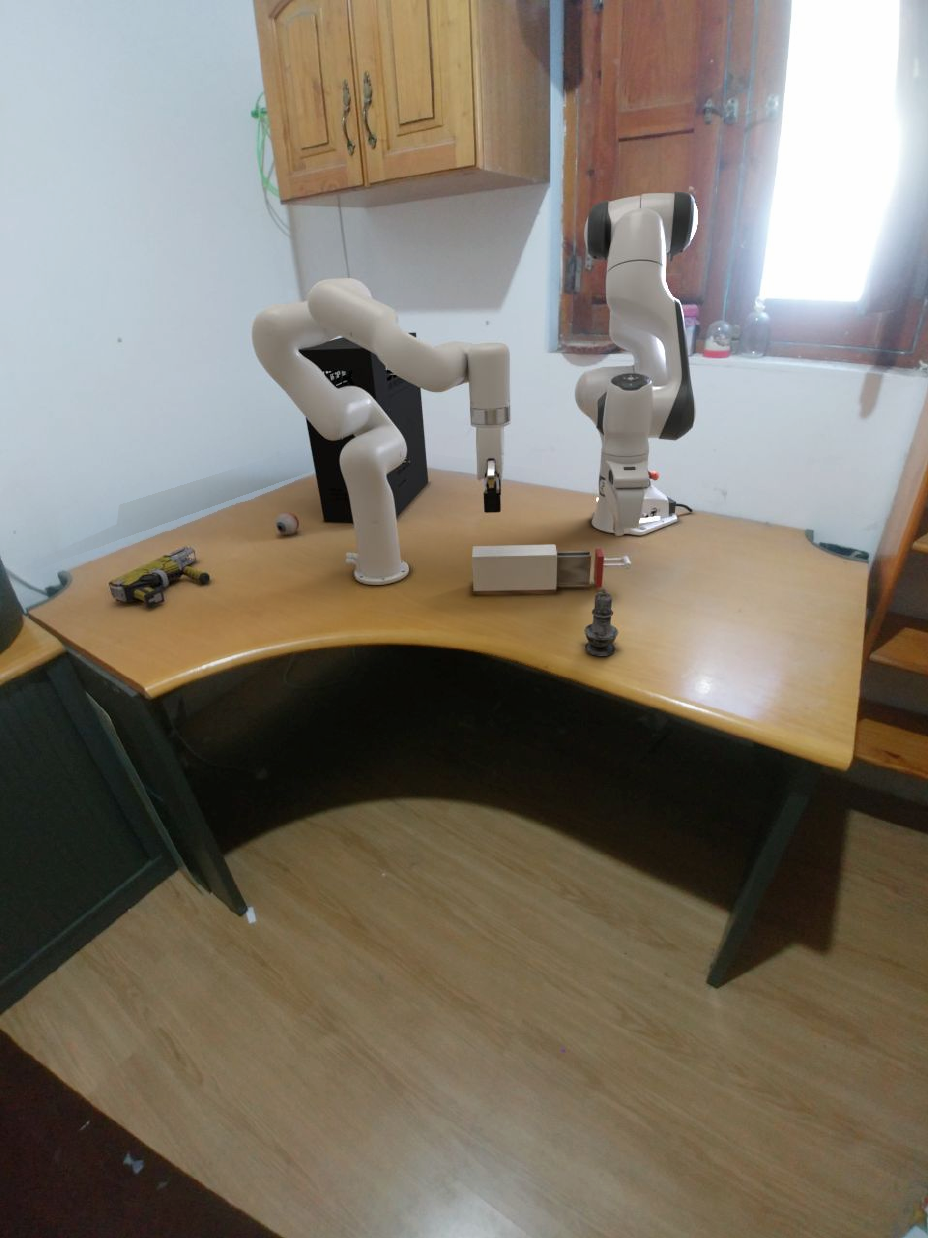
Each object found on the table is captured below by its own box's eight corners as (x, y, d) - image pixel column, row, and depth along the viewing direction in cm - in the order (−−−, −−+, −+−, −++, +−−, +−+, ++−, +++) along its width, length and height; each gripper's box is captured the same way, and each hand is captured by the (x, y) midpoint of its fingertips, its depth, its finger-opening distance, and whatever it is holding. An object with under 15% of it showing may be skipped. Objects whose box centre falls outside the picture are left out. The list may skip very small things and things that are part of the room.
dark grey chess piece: (616, 658, 105) (622, 597, 99) (582, 655, 106) (586, 595, 100) (616, 640, 110) (621, 581, 104) (583, 638, 111) (587, 580, 105)
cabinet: (554, 582, 132) (555, 544, 128) (556, 593, 127) (557, 554, 123) (474, 583, 134) (473, 546, 129) (473, 595, 129) (471, 556, 124)
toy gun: (232, 554, 147) (182, 544, 151) (158, 595, 127) (102, 582, 130) (235, 572, 149) (185, 561, 153) (162, 615, 129) (107, 601, 133)
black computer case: (391, 523, 168) (370, 347, 145) (324, 521, 172) (293, 350, 150) (428, 482, 199) (416, 332, 177) (370, 481, 204) (351, 334, 181)
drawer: (626, 578, 130) (629, 547, 126) (629, 587, 126) (633, 555, 123) (523, 580, 132) (523, 550, 128) (523, 589, 128) (523, 558, 124)
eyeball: (273, 537, 164) (268, 516, 161) (287, 528, 169) (282, 508, 166) (291, 539, 161) (286, 518, 158) (305, 530, 166) (301, 510, 163)
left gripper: (472, 407, 120) (476, 490, 129) (468, 427, 106) (472, 519, 114) (510, 405, 120) (511, 489, 128) (511, 425, 105) (512, 518, 114)
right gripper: (599, 452, 125) (595, 515, 132) (615, 482, 107) (610, 553, 114) (630, 450, 125) (625, 514, 132) (651, 480, 107) (643, 552, 114)
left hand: (492, 503), depth 121 cm, fingers open, 9 cm apart
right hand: (618, 532), depth 123 cm, fingers closed
